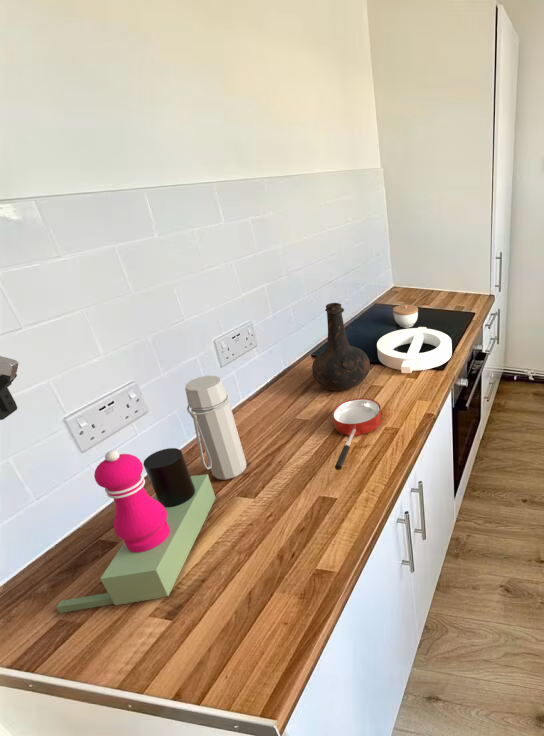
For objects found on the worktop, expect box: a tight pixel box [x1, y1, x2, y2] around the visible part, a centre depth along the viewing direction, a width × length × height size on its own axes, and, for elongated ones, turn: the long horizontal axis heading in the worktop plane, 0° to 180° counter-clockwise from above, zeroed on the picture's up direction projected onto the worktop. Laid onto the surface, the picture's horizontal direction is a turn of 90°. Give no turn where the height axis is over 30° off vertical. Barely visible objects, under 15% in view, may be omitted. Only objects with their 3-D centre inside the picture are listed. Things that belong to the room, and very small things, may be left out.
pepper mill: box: [93, 449, 170, 552], centre depth 74 cm, size 7×7×20 cm
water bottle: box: [184, 375, 247, 481], centre depth 99 cm, size 9×8×25 cm
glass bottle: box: [311, 302, 371, 392], centre depth 138 cm, size 18×18×28 cm
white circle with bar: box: [376, 326, 453, 374], centre depth 166 cm, size 28×28×5 cm
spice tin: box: [142, 447, 195, 507], centre depth 86 cm, size 6×6×10 cm
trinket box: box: [392, 304, 419, 329], centre depth 190 cm, size 11×11×9 cm
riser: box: [55, 473, 216, 614], centre depth 83 cm, size 16×24×7 cm, turn 14°
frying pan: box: [332, 397, 383, 471], centre depth 116 cm, size 32×13×6 cm, turn 14°
